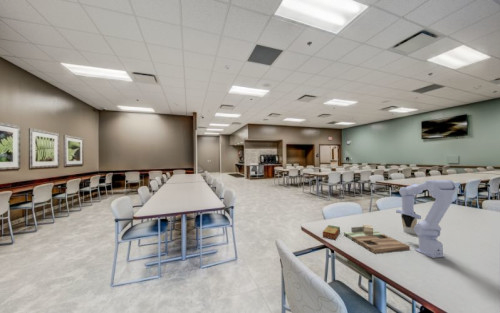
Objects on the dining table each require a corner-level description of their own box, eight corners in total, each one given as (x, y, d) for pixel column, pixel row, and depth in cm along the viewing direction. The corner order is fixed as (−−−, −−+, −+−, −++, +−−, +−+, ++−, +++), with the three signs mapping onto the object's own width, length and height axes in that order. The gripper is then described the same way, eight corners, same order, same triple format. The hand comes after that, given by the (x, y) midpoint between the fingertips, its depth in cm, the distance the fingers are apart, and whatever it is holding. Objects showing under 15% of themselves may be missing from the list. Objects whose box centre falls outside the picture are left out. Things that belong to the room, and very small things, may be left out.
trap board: (409, 249, 109) (409, 240, 109) (373, 253, 105) (373, 244, 105) (373, 232, 135) (373, 225, 135) (343, 234, 131) (343, 227, 131)
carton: (322, 237, 129) (322, 231, 129) (328, 230, 142) (328, 224, 142) (335, 240, 124) (335, 233, 124) (340, 232, 137) (340, 226, 137)
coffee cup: (403, 233, 133) (402, 212, 133) (400, 228, 141) (399, 209, 141) (419, 235, 129) (419, 213, 129) (415, 230, 137) (414, 210, 137)
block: (373, 235, 125) (373, 227, 125) (364, 234, 127) (364, 226, 127) (371, 232, 130) (371, 225, 130) (363, 231, 132) (363, 224, 132)
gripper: (425, 208, 113) (425, 230, 113) (402, 203, 128) (402, 222, 127) (415, 209, 112) (416, 231, 112) (393, 203, 127) (393, 223, 126)
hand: (408, 226), depth 120 cm, fingers closed
